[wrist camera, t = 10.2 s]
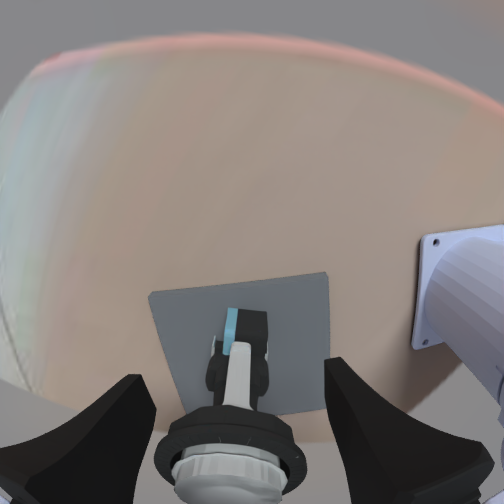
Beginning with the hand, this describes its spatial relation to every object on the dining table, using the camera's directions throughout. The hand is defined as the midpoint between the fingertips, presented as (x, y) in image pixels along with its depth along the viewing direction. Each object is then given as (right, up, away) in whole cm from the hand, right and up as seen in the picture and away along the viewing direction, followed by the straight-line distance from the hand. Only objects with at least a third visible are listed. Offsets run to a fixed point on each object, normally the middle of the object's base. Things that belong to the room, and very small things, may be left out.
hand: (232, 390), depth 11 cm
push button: (0, -1, +7) cm, 7 cm away
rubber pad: (0, -1, +7) cm, 8 cm away
